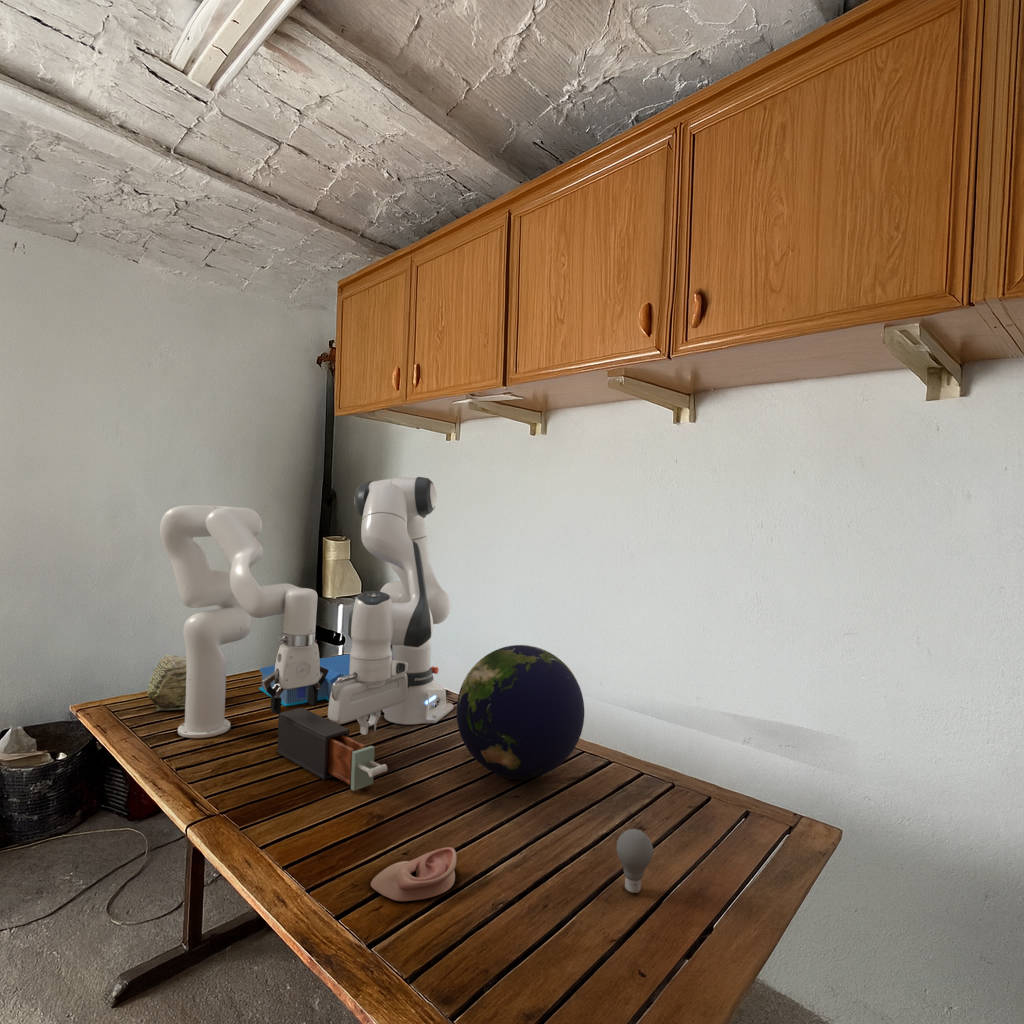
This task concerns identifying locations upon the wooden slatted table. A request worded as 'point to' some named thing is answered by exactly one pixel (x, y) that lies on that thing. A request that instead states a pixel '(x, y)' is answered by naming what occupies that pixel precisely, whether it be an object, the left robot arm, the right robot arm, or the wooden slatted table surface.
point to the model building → (290, 697)
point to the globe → (520, 712)
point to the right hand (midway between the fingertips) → (368, 732)
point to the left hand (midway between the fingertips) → (294, 708)
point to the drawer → (352, 762)
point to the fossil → (169, 683)
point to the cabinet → (307, 739)
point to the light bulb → (634, 857)
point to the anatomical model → (418, 876)
